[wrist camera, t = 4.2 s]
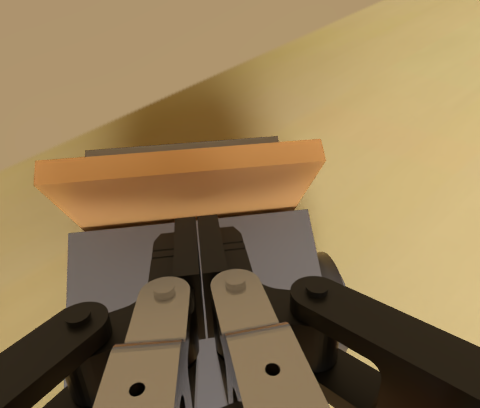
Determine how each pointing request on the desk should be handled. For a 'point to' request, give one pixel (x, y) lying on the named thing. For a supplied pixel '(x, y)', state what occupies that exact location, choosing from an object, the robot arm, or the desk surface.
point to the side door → (180, 181)
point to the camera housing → (259, 253)
